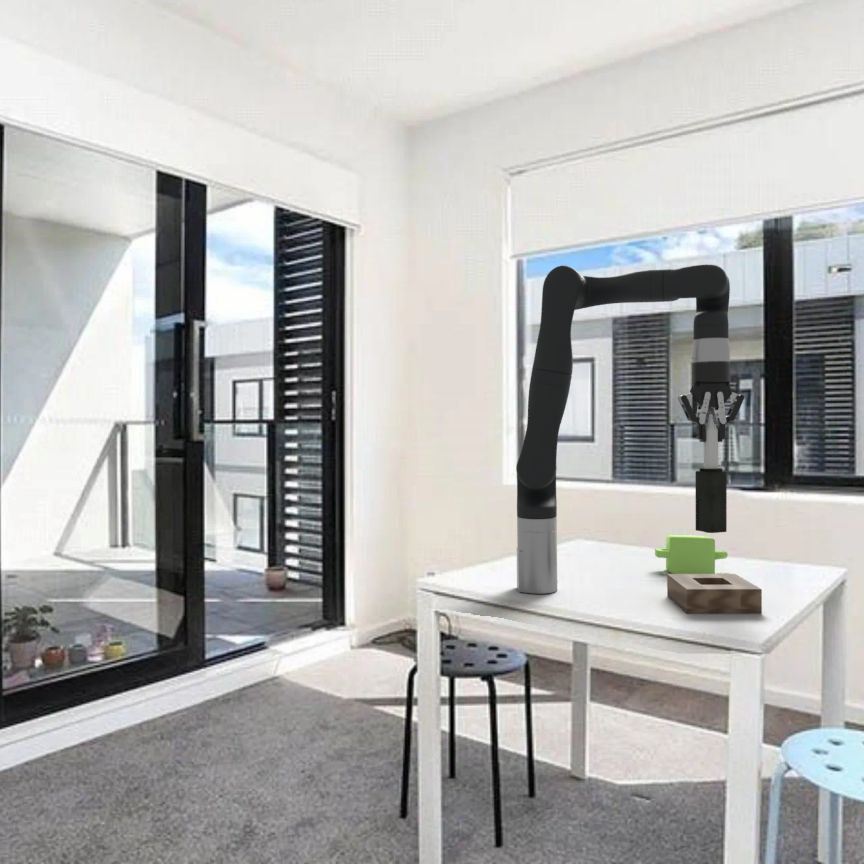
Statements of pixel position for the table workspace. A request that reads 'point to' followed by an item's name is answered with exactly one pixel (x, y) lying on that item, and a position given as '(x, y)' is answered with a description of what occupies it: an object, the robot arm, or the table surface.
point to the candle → (711, 487)
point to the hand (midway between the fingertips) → (711, 441)
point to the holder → (714, 593)
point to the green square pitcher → (690, 554)
